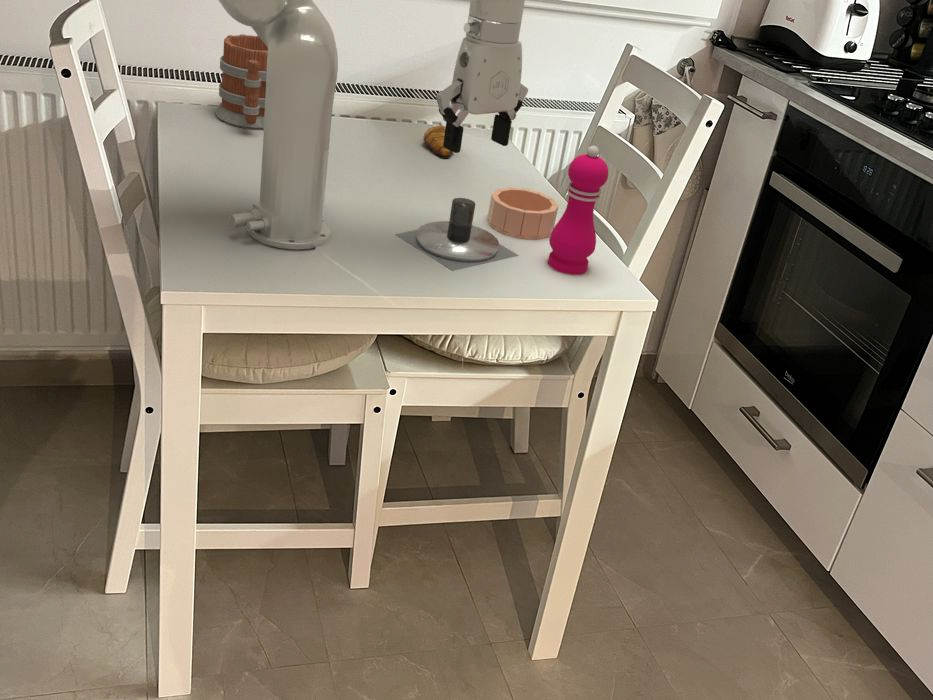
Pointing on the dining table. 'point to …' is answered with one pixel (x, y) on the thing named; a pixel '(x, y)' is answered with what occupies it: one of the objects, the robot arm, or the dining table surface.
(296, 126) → the robot arm
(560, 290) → the dining table surface
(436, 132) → the croissant
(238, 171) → the dining table surface
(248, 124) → the mug
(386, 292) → the dining table surface
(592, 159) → the pepper mill
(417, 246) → the mat
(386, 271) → the dining table surface
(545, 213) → the bowl
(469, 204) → the lid
